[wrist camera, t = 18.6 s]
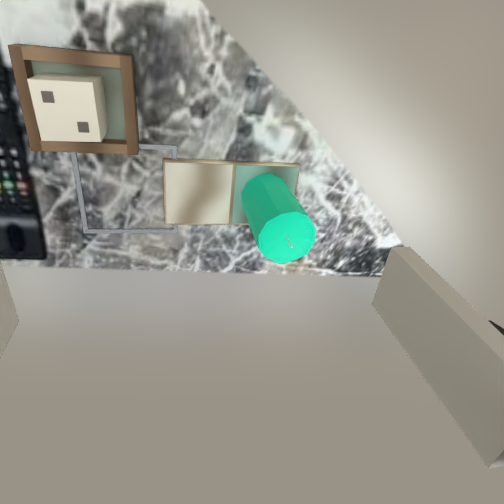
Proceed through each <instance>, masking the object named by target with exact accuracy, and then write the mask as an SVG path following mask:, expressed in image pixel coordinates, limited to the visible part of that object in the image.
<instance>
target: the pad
mask: <svg viewBox="0 0 504 504" xmlns="http://www.w3.org/2000/svg"><path fill="white" fill-rule="evenodd" d="M139 149H156V150H172V159H177V145H158V144H139ZM71 158H72V164H73V170H74V176H75V182H76V188H77V194H78V200H79V206H80V212H81V218H82V225H83V231H84V233H178V229H177V224H173V229H88V225H87V218H86V212H85V205H84V199H83V193H82V186H81V180H80V173H79V167H78V161H77V154H76V152H71Z"/></svg>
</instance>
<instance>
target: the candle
mask: <svg viewBox="0 0 504 504" xmlns="http://www.w3.org/2000/svg"><path fill="white" fill-rule="evenodd" d="M241 197H242V206H243V209H244V212H245V214H246V217H247V219H248V222H249V225H250V227H251V230H252V232H253V235H254V238H255V240H256V243H257V246H258V248H259V250H260V251H261V252H262V253H263V255H264V256H265V257H266V258H268V259H270V260H272V261H274V262H276V263H279V264H281V263H285V262H290V261H293V260H296V259H298V258H300V257H302V256H305V255H307V254H308V252H309V250H310V249H311V247H312V246H313V244H314V242H315V231H316V228H315V226H314V225H313V223H312V221H311V220H310V218H309V216H308V215H307V214H306V212H305V211H304V209H303V208H302V206H301V205H300V204H299V202H298V201H297V199H296V198H295V196H294V195H293V194H292V192H291V191H290V189H289V188H288V187H287V185H286V184H285V182H284V181H283V179H282V178H280V177H278V176H275V175H273V174H271V173H270V174H259V175H257V176H255V177H254V178H252V179H251V180H249V181H248V182H247V183H246V185H245V187H244V189H243V191H242V193H241Z"/></svg>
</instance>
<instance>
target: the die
mask: <svg viewBox="0 0 504 504" xmlns="http://www.w3.org/2000/svg"><path fill="white" fill-rule="evenodd" d="M27 81H28V85H29V89H30V94H31V98H32V102H33V107H34V111H35V115H36V120H37V124H38V128H39V132H40V137H41V141H71V142H101V141H102V140H103V138H104V136H105V135H106V133H107V131H108V129H109V126H108V118H107V110H106V103H105V95H104V88H103V80H102V75H89V74H71V73H53V72H44V73H41V74H39V75H36V76H34V77H31V78H29V79H27Z"/></svg>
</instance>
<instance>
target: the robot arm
mask: <svg viewBox="0 0 504 504" xmlns="http://www.w3.org/2000/svg"><path fill="white" fill-rule="evenodd" d="M372 305H373V307H374V308H375V309H376V311H377V312H378V314H379V315H380V316H381V318H382V319H383V320H384V322H385V324H386V325H387V326H388V328H389V329H390V330H391V332H392V333H393V335H394V336H395V338H396V339H397V340H398V342H399V343H400V345H401V346H402V347H403V349H404V350H405V352H406V353H407V355H408V356H409V357H410V359H411V360H412V362H413V363H414V364H415V366H416V367H417V369H418V370H419V371H420V373H421V374H422V376H423V377H424V379H425V380H426V381H427V383H428V384H429V386H430V387H431V388H432V390H433V391H434V392H435V394H436V395H437V397H438V398H439V400H440V401H441V403H442V404H443V405H444V407H445V408H446V410H447V411H448V412H449V414H450V415H451V417H452V418H453V419H454V421H455V422H456V424H457V425H458V426H459V428H460V429H461V431H462V432H463V434H464V435H465V436H466V438H467V439H468V440H469V442H470V443H471V445H472V446H473V448H474V449H475V450H476V452H477V453H478V455H479V456H480V458H481V459H482V460H483V461H484V463H485V465H486V466H487V467H488V468H494V467H500V466H504V329H503V328H502V327H500V326H498V325H497V324H495V323H494V322H492V321H488V320H487V319H486V318H485V317H484V316H482V315H481V314H480V313H479V312H478V311H477V310H476V309H475V308H474V307H473V306H472V305H471V304H470V303H469V302H467V300H465V299H464V298H463V297H462V296H461V295H460V294H459V293H458V292H457V291H456V290H455V289H454V288H453V287H452V286H451V285H450V284H449V283H447V282H446V281H445V280H444V279H443V278H442V277H441V276H440V275H439V274H438V273H437V272H436V271H435V270H434V269H433V268H432V267H430V266H429V265H428V264H427V263H426V262H425V261H424V260H423V259H422V258H421V257H420V256H419V255H418V254H417V253H416V252H415V251H414V250H413V249H411V248H410V247H391V250H390V253H389V256H388V259H387V262H386V264H385V267H384V270H383V273H382V276H381V279H380V281H379V284H378V287H377V290H376V293H375V296H374V298H373V302H372ZM18 322H19V319H18V316H17V313H16V310H15V306H14V304H13V300H12V297H11V294H10V291H9V288H8V284H7V281H6V278H5V275H4V272H3V269H2V265H1V262H0V358H1V356H2V354H3V352H4V350H5V348H6V346H7V344H8V342H9V340H10V338H11V336H12V334H13V332H14V330H15V328H16V326H17V324H18Z"/></svg>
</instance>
